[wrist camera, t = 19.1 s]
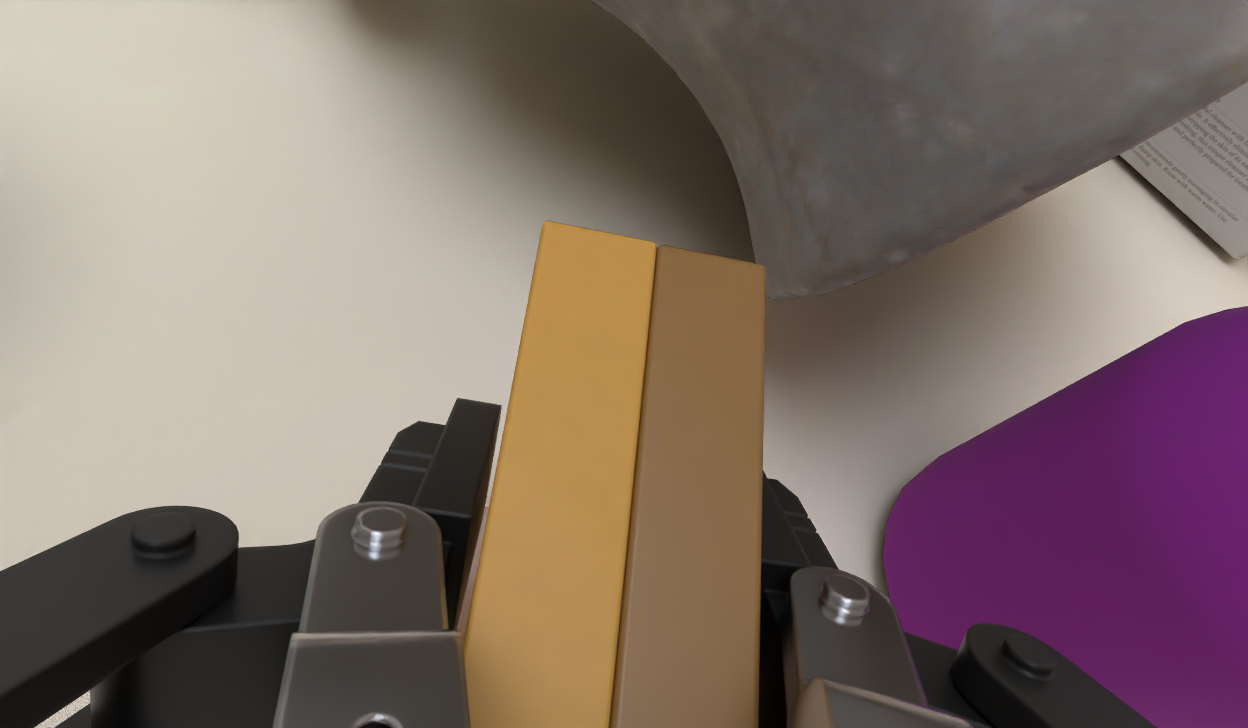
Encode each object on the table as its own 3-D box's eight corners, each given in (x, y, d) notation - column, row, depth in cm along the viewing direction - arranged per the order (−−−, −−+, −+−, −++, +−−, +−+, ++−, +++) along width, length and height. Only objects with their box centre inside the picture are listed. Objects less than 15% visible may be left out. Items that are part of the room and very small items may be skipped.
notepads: (441, 826, 16) (388, 1039, 6) (504, 482, 20) (543, 217, 9) (573, 838, 17) (756, 1061, 6) (611, 499, 20) (768, 262, 10)
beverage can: (871, 709, 19) (1363, 706, 9) (863, 440, 23) (1207, 201, 12) (1130, 747, 20) (1863, 786, 10) (1084, 482, 24) (1586, 295, 13)
